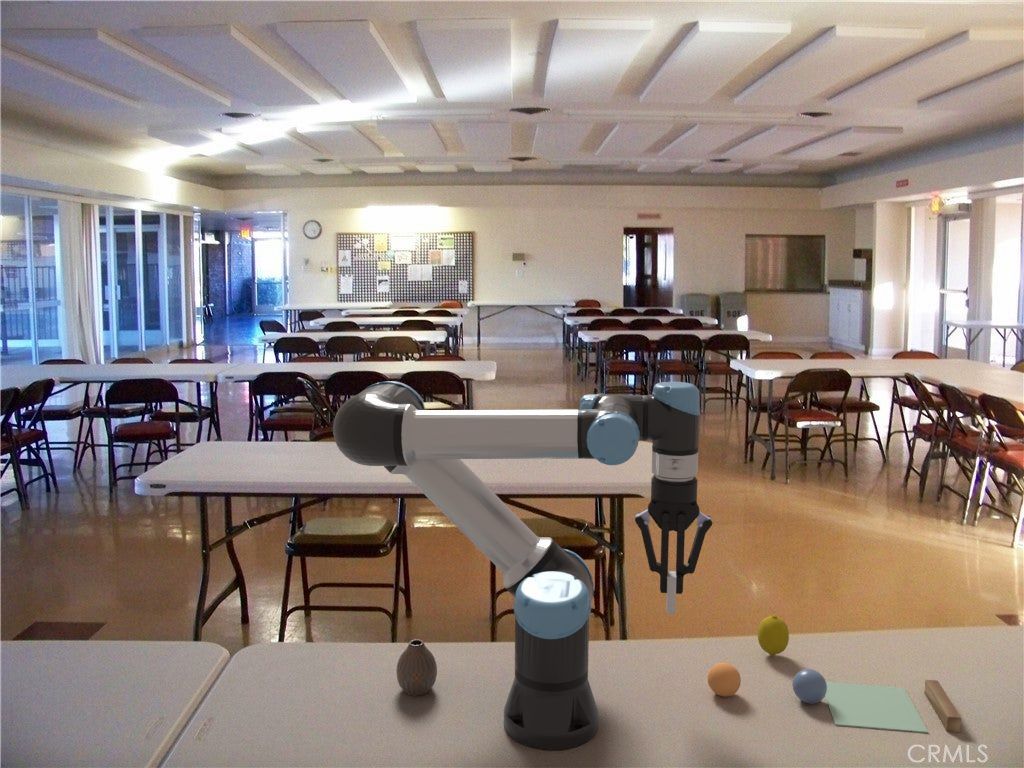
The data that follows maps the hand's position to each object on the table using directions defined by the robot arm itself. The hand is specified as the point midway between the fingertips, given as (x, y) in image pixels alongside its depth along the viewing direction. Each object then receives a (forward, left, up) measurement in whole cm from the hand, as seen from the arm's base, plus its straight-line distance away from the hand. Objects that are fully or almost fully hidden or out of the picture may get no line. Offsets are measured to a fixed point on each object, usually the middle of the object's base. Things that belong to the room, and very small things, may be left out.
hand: (670, 610), depth 151 cm
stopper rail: (+44, 0, -15) cm, 47 cm away
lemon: (+19, +16, -15) cm, 29 cm away
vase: (-43, -7, -15) cm, 46 cm away
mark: (+33, 0, -15) cm, 36 cm away
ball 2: (+23, 0, -12) cm, 26 cm away
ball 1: (+9, 0, -12) cm, 15 cm away
